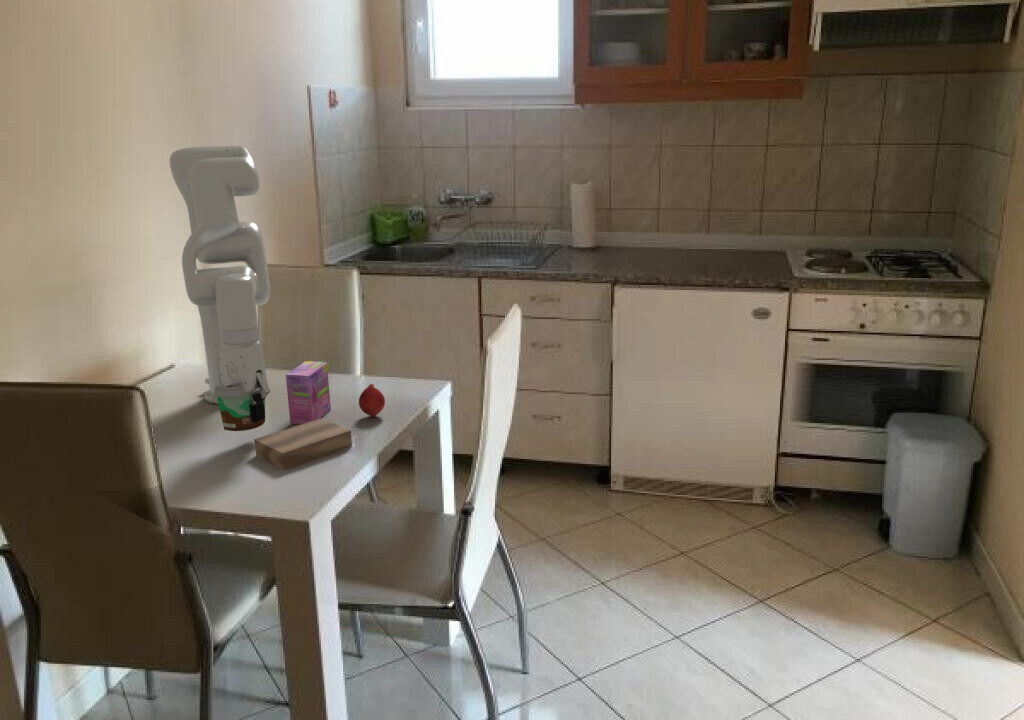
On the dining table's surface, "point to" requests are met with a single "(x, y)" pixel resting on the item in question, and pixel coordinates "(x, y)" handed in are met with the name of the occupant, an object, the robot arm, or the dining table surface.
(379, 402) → the onion
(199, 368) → the dining table surface
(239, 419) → the food container
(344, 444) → the brown flat block
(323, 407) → the box
